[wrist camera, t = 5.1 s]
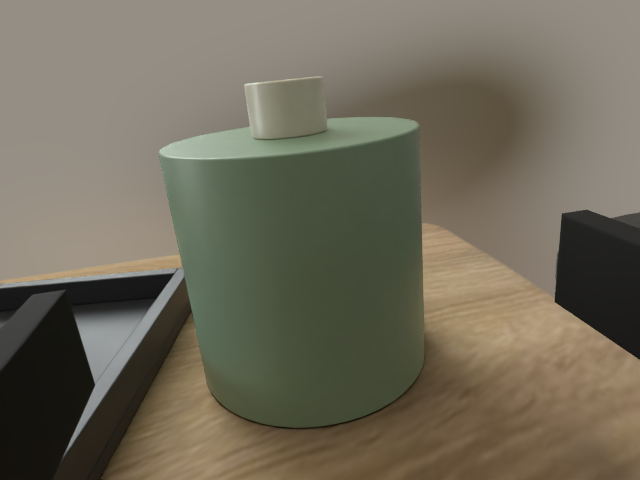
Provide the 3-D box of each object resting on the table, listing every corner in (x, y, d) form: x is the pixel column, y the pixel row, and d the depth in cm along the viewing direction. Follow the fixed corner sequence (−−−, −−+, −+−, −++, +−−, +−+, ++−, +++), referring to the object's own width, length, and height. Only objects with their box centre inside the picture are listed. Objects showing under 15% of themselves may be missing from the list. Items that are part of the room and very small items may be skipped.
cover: (404, 294, 26) (395, 68, 22) (451, 417, 17) (450, 63, 13) (228, 309, 27) (188, 89, 23) (177, 438, 17) (94, 100, 13)
